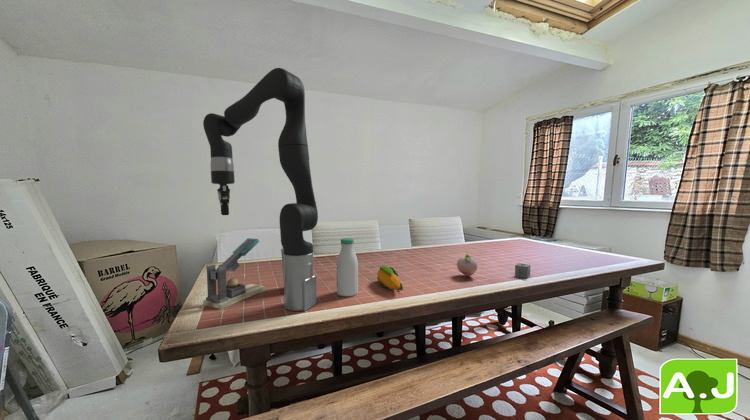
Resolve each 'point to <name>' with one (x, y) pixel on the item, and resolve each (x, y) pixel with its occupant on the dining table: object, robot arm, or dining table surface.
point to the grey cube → (522, 270)
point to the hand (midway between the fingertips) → (224, 214)
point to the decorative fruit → (467, 265)
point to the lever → (236, 256)
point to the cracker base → (227, 290)
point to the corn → (389, 278)
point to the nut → (232, 283)
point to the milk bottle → (347, 269)
